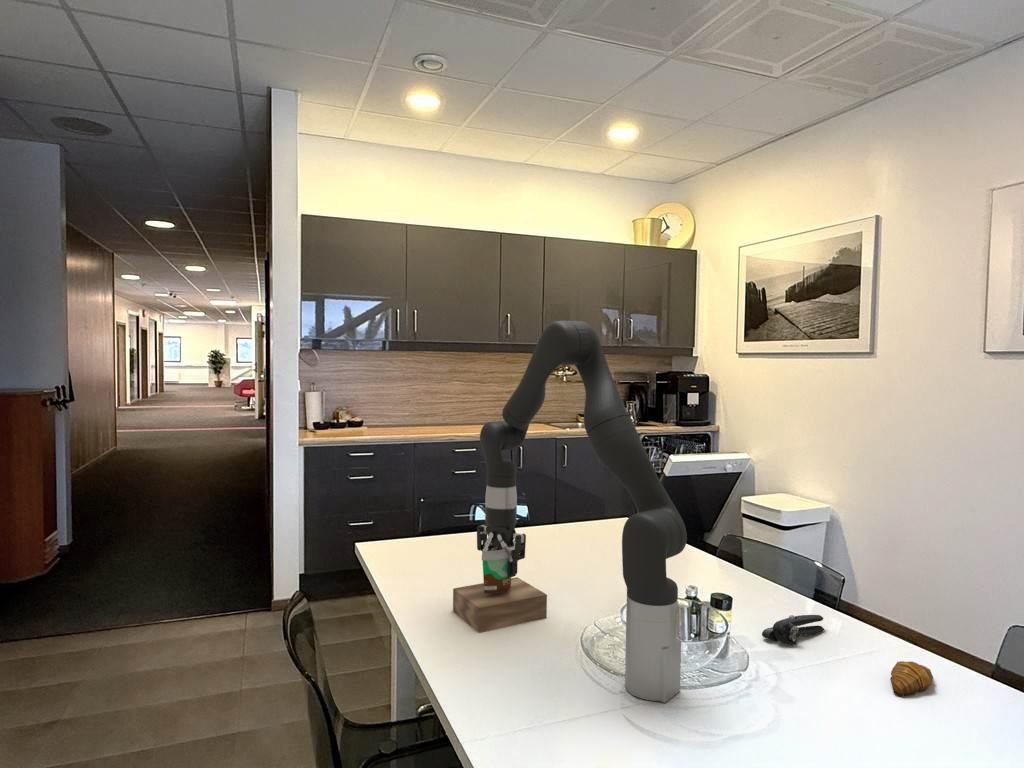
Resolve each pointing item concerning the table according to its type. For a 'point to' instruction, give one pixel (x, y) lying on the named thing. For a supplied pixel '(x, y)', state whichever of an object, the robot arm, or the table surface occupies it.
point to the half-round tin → (496, 570)
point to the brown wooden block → (499, 605)
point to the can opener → (793, 629)
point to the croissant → (910, 678)
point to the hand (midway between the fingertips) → (500, 572)
